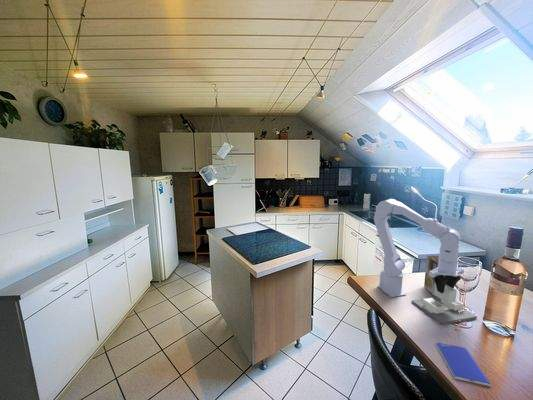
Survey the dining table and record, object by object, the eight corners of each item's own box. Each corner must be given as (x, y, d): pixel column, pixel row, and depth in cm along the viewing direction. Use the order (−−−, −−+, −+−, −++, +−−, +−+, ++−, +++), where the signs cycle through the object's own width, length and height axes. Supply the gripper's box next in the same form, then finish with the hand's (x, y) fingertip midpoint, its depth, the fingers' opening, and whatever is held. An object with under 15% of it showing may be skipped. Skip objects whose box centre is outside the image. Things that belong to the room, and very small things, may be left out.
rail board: (411, 302, 97) (412, 293, 97) (442, 298, 100) (443, 289, 99) (441, 324, 84) (443, 314, 83) (476, 318, 86) (478, 308, 86)
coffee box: (449, 297, 100) (453, 263, 98) (433, 296, 101) (437, 263, 99) (437, 286, 109) (441, 255, 107) (423, 285, 110) (426, 255, 108)
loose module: (433, 294, 93) (435, 283, 92) (441, 293, 94) (442, 282, 93) (447, 303, 87) (449, 291, 87) (455, 302, 88) (456, 290, 87)
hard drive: (436, 342, 74) (454, 375, 63) (466, 347, 72) (491, 383, 60) (435, 346, 75) (454, 380, 63) (465, 351, 72) (490, 388, 60)
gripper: (442, 265, 83) (438, 299, 85) (473, 262, 86) (469, 294, 88) (425, 258, 90) (422, 289, 92) (455, 255, 93) (451, 285, 95)
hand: (444, 291), depth 91 cm, fingers closed on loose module, 3 cm apart
